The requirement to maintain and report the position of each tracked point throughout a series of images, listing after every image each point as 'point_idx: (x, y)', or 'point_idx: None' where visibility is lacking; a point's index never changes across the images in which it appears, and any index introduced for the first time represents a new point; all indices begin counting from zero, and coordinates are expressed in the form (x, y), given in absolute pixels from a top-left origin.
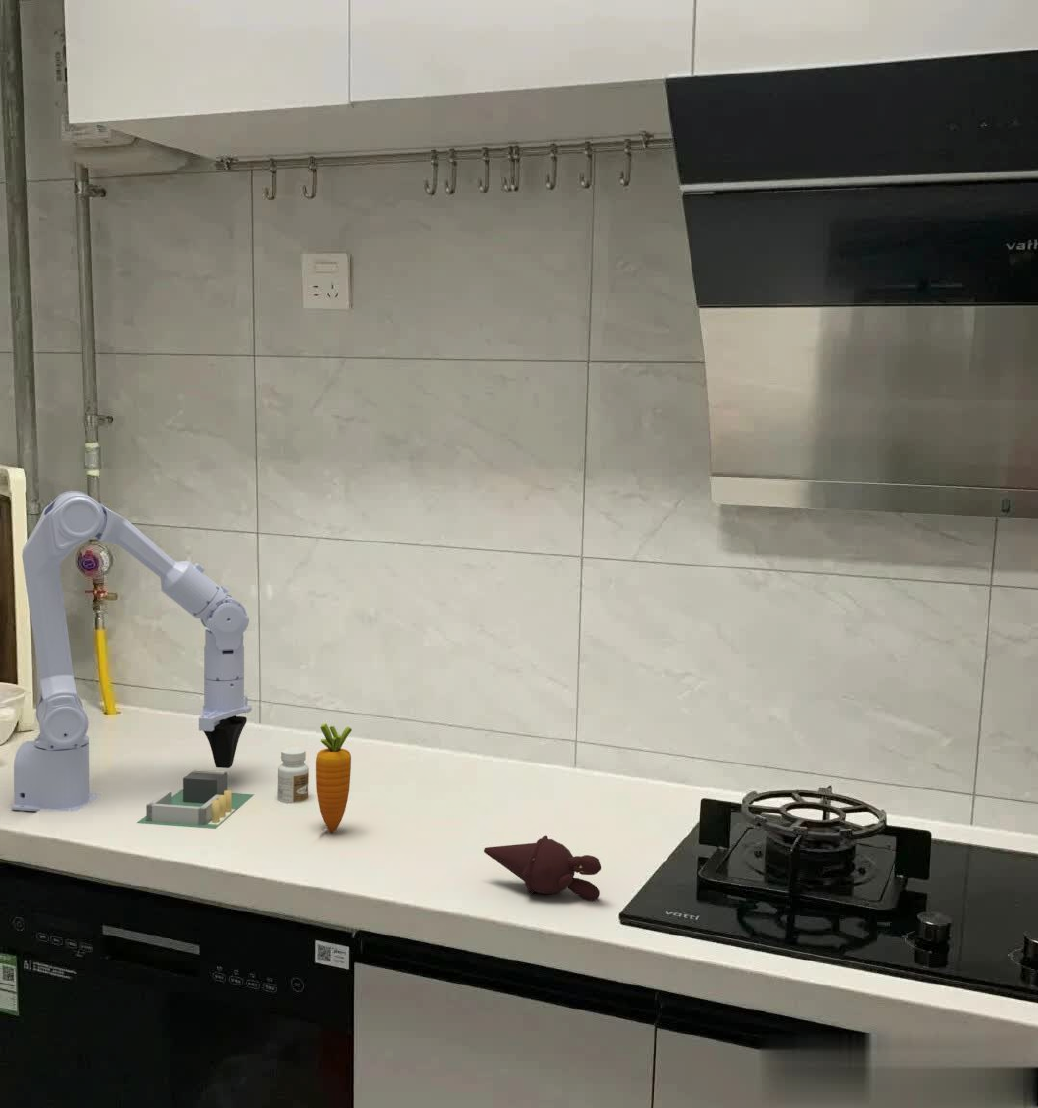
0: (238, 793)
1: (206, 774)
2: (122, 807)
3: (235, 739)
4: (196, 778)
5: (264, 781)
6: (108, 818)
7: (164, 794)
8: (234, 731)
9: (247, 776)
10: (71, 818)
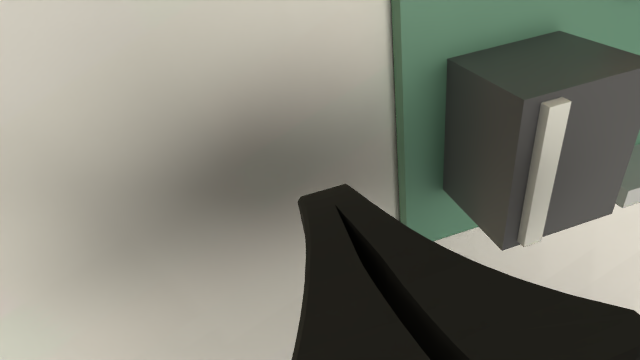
0: (405, 29)
1: (562, 168)
2: (541, 273)
3: (381, 295)
4: (623, 165)
5: (86, 53)
6: (619, 242)
7: None
8: (617, 306)
9: (71, 182)
10: (613, 295)
